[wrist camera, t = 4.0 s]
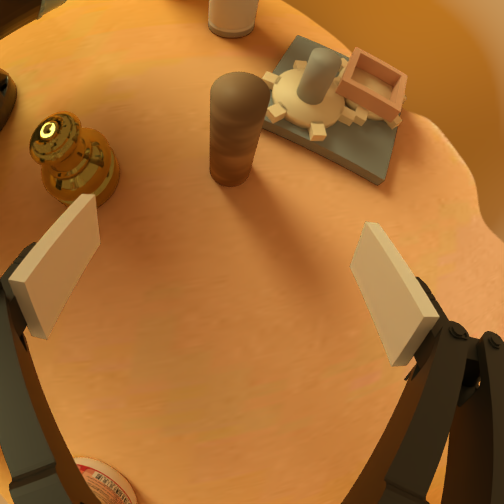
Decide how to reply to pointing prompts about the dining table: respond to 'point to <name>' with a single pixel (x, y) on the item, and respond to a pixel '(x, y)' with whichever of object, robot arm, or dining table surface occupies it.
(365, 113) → the gear board
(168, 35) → the dining table surface
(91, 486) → the fruit juice
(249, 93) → the wooden dowel peg
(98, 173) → the salt shaker
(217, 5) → the travel mug
